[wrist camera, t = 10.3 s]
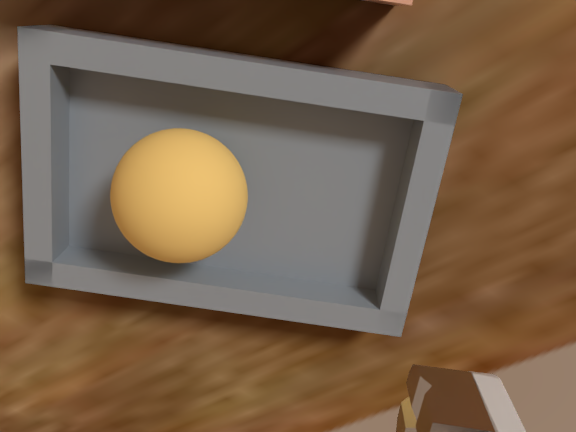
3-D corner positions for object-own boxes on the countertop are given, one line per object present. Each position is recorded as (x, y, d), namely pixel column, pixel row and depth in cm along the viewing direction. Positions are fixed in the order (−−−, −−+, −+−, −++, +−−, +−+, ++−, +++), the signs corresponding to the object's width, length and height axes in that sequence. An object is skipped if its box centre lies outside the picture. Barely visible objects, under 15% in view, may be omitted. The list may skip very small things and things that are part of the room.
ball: (283, 142, 18) (171, 157, 14) (266, 265, 19) (161, 302, 16) (196, 111, 20) (83, 117, 17) (186, 222, 22) (82, 246, 18)
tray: (445, 84, 19) (462, 93, 17) (392, 305, 23) (400, 337, 20) (50, 24, 19) (17, 26, 17) (52, 256, 22) (25, 283, 20)
